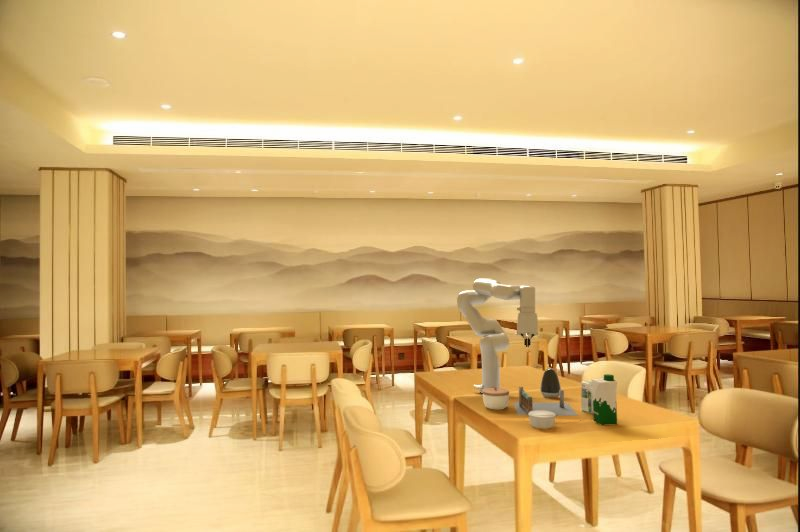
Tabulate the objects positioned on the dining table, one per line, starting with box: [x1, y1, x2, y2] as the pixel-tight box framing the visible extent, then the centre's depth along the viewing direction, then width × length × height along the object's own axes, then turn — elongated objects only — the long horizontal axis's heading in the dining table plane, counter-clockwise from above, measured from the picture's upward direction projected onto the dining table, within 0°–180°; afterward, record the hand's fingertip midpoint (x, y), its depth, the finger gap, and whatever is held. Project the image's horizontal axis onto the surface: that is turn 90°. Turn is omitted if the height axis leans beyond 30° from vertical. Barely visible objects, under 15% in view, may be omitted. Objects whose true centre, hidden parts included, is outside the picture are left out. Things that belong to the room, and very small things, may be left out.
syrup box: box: [580, 380, 593, 414], centre depth 238 cm, size 6×6×14 cm
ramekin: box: [527, 410, 557, 430], centre depth 220 cm, size 11×11×5 cm
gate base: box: [513, 386, 579, 417], centre depth 245 cm, size 26×24×10 cm
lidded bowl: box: [482, 386, 510, 411], centre depth 249 cm, size 13×13×11 cm
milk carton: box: [591, 374, 618, 426], centre depth 224 cm, size 9×9×20 cm
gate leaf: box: [520, 389, 533, 413], centre depth 240 cm, size 16×2×8 cm, turn 1°
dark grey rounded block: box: [539, 367, 562, 399], centre depth 272 cm, size 10×10×15 cm
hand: (527, 346), depth 265 cm, fingers closed
